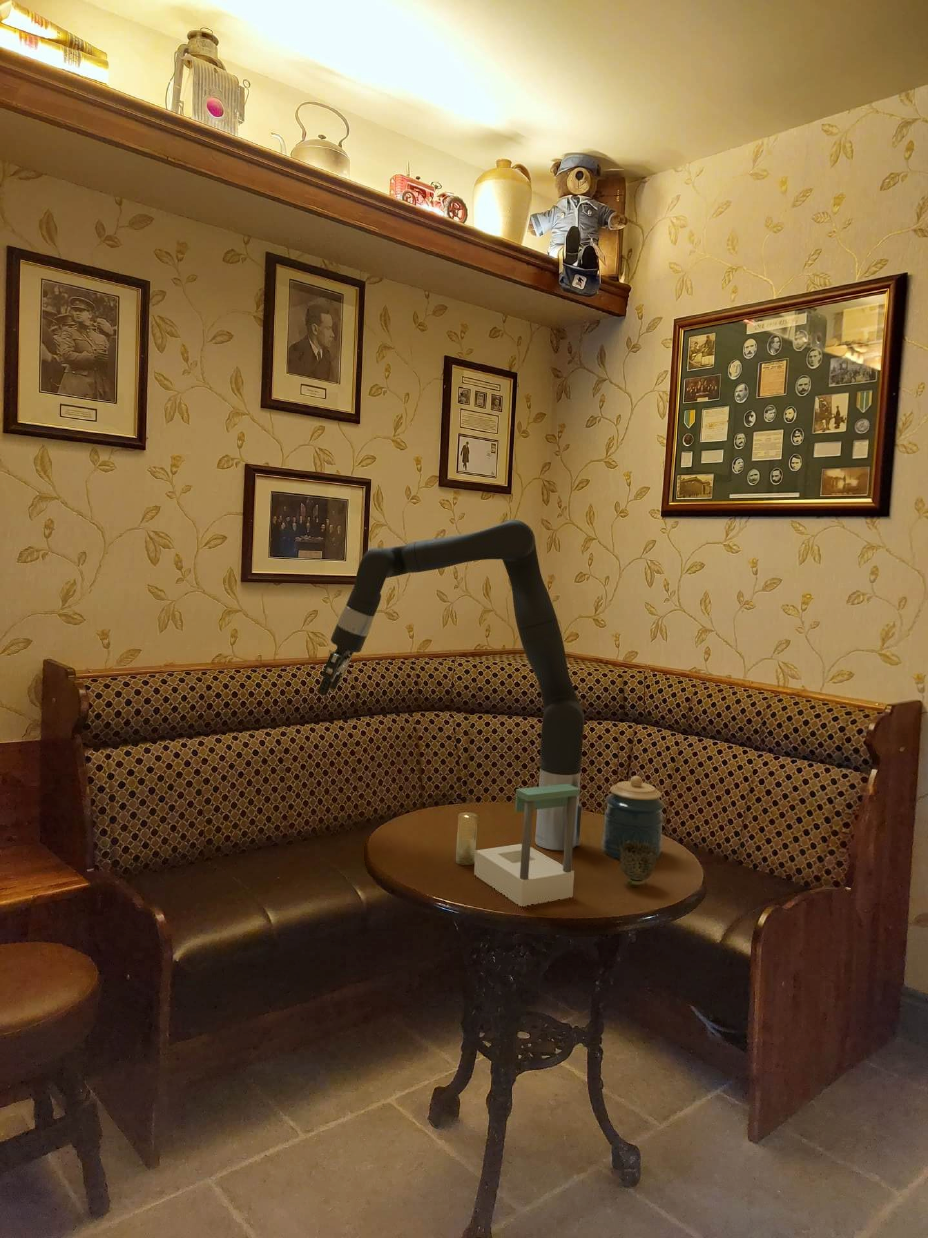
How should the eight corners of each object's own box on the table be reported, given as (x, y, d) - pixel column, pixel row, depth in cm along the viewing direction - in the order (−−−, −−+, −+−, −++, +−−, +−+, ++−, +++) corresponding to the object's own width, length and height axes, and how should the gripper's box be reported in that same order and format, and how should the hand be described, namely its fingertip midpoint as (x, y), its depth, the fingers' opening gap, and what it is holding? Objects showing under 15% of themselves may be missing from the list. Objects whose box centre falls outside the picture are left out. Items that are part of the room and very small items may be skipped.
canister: (666, 865, 183) (673, 785, 181) (607, 862, 183) (613, 782, 181) (653, 844, 196) (658, 770, 194) (597, 841, 196) (602, 767, 194)
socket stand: (523, 866, 177) (529, 767, 175) (572, 897, 162) (580, 789, 161) (474, 874, 171) (480, 772, 169) (520, 907, 156) (528, 795, 154)
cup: (628, 875, 175) (631, 837, 175) (660, 885, 171) (663, 847, 170) (610, 884, 170) (613, 846, 169) (643, 895, 165) (646, 855, 164)
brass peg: (468, 857, 180) (471, 811, 180) (478, 863, 177) (481, 817, 176) (452, 859, 178) (455, 813, 178) (461, 866, 175) (464, 819, 174)
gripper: (360, 638, 189) (333, 703, 190) (373, 631, 203) (348, 692, 205) (330, 624, 189) (303, 689, 191) (345, 619, 203) (320, 680, 205)
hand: (326, 691), depth 198 cm, fingers open, 8 cm apart
